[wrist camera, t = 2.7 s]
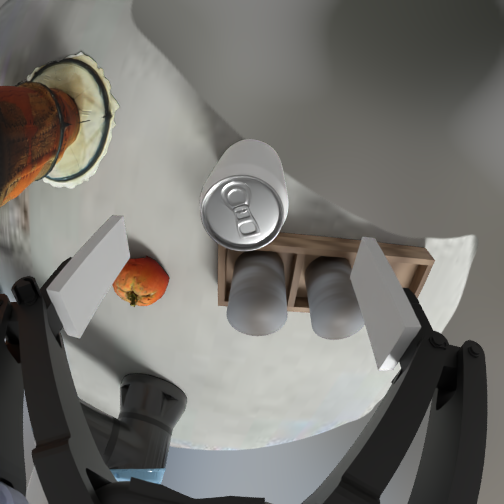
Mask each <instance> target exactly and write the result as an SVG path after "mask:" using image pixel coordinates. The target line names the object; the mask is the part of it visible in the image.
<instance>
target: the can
mask: <svg viewBox="0 0 504 504" xmlns="http://www.w3.org/2000/svg"><path fill="white" fill-rule="evenodd" d="M288 204H289V203H288V194H287V188H286V183H285V178H284V173H283V168H282V164H281V160H280V158H279V156H278V154H277V153H276V151H275V150H274V149H273V148H272V147H271V146H269V145H268V144H266V143H265V142H262V141H260V140H255V139H245V140H241V141H239V142H237V143H235V144H233V145H231V146H230V147H229V148H228V149H227V150H226V151H225V152H224V154H223V155H222V157H221V158H220V160H219V161H218V163H217V164H216V166H215V167H214V169H213V170H212V172H211V174H210V175H209V177H208V179H207V180H206V182H205V184H204V186H203V188H202V191H201V195H200V213H201V220H202V224H203V226H204V228H205V230H206V232H207V233H208V235H209V236H210V237H211V238H212V239H213V240H214V241H215V242H217V243H218V244H220V245H221V246H223V247H225V248H228V249H231V250H235V251H252V250H256V249H259V248H262V247H264V246H266V245H267V244H269V243H270V242H271V241H272V240H273V239H274V238H275V237H276V236H277V235H278V233H279V232H280V230H281V228H282V226H283V224H284V222H285V220H286V217H287V213H288Z"/></svg>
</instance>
